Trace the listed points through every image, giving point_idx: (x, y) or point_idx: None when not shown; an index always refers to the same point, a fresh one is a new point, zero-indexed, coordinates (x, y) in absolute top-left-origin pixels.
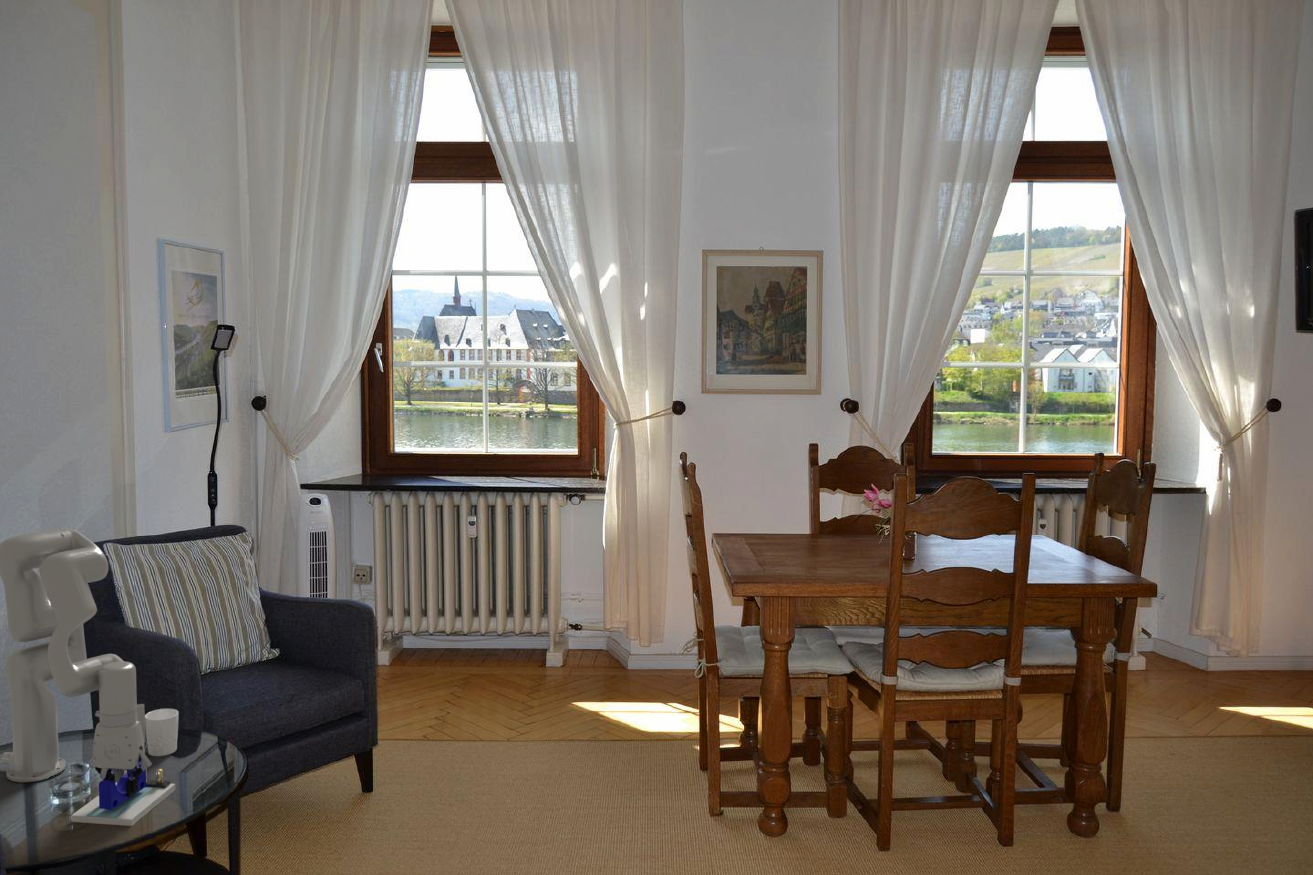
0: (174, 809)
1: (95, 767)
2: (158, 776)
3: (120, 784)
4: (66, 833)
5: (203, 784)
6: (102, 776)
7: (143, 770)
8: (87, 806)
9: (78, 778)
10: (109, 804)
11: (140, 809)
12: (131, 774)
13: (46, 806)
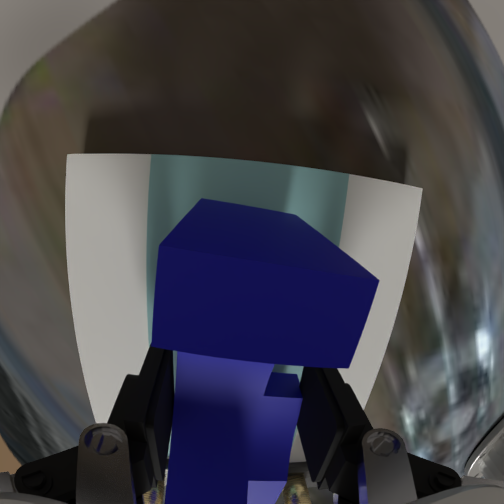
0: (15, 322)
1: (460, 480)
2: (145, 494)
3: (270, 440)
4: (369, 68)
5: None
6: (384, 442)
7: (3, 474)
8: (386, 289)
9: (441, 453)
10: (214, 206)
11: (83, 273)
12: (87, 465)
13: (500, 306)
